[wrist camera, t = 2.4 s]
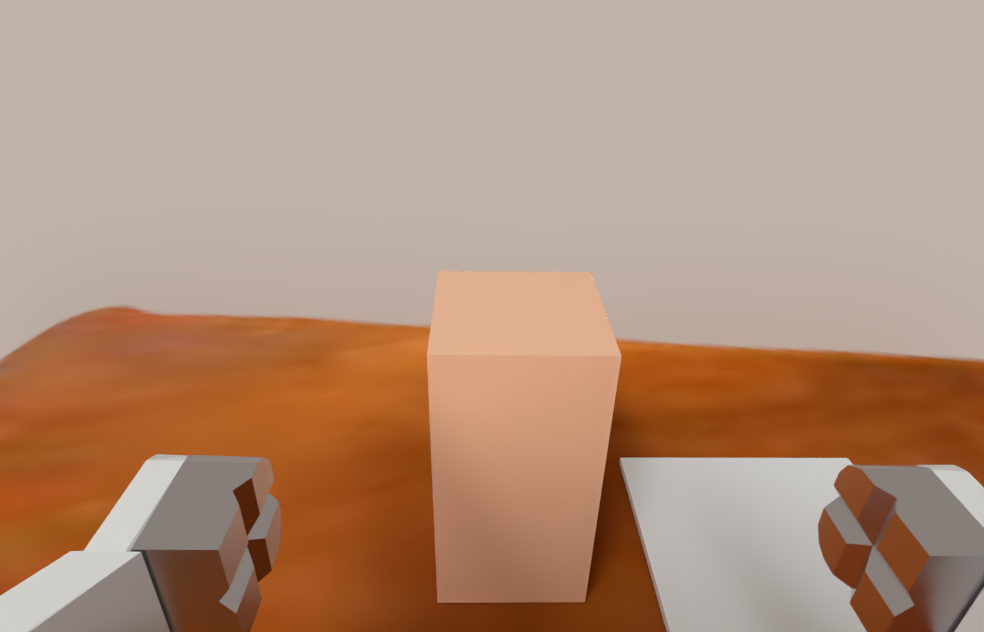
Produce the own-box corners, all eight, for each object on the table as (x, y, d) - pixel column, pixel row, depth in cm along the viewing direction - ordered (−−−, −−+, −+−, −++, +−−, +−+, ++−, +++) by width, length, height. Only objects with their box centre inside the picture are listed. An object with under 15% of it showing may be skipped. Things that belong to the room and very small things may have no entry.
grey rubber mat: (845, 463, 32) (847, 458, 32) (1021, 702, 22) (1027, 695, 21) (619, 463, 32) (620, 457, 31) (687, 705, 21) (689, 698, 21)
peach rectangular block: (566, 492, 30) (590, 272, 24) (585, 602, 25) (621, 355, 19) (444, 491, 30) (438, 270, 24) (437, 602, 25) (426, 355, 19)
